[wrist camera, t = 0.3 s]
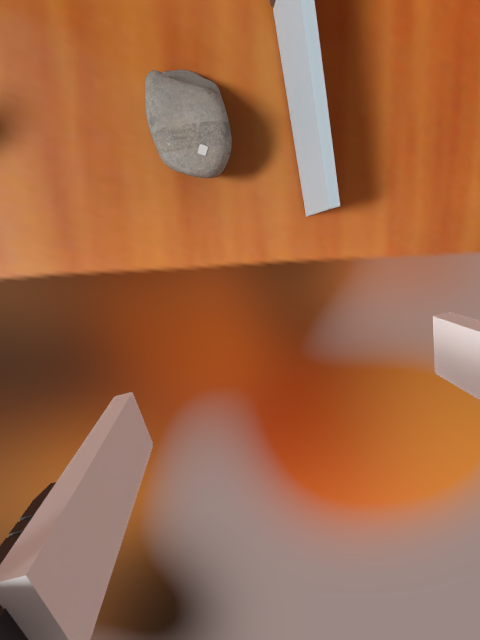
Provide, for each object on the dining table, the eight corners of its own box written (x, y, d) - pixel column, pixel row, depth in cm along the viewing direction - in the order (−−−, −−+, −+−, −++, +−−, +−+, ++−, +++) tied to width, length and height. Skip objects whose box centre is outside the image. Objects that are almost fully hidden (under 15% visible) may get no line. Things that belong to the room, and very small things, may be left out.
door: (268, -9, 29) (288, -110, 21) (292, -14, 29) (321, -117, 21) (304, 216, 35) (330, 208, 27) (324, 211, 35) (356, 201, 27)
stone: (237, 78, 31) (237, 81, 24) (229, 166, 37) (227, 190, 30) (155, 65, 30) (130, 63, 23) (161, 156, 36) (142, 179, 29)
